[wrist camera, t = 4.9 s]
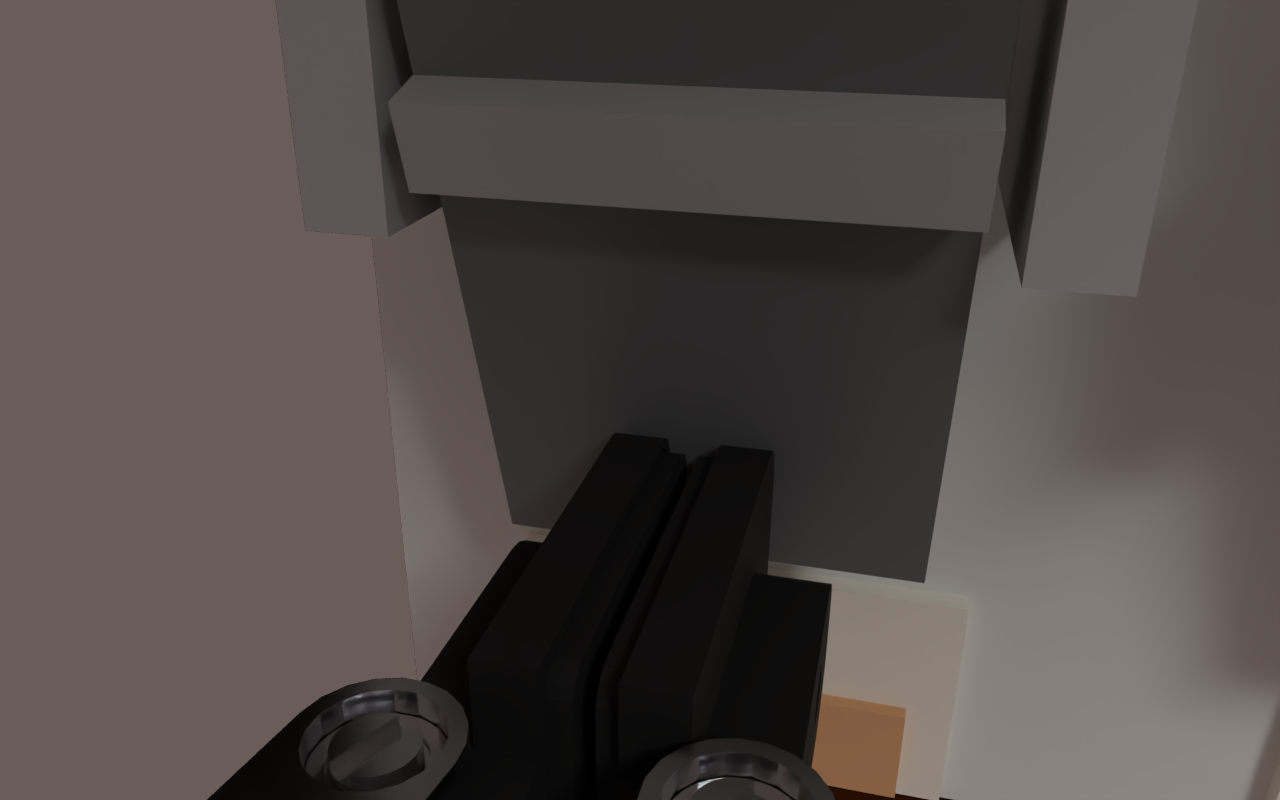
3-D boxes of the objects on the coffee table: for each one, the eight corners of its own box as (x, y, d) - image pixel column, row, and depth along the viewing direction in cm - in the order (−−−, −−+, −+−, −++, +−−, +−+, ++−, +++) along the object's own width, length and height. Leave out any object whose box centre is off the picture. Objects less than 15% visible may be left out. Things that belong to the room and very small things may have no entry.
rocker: (360, -723, 7) (175, -776, 5) (1137, -840, 6) (1189, -947, 4) (554, 430, 13) (497, 556, 12) (930, 475, 12) (922, 620, 11)
